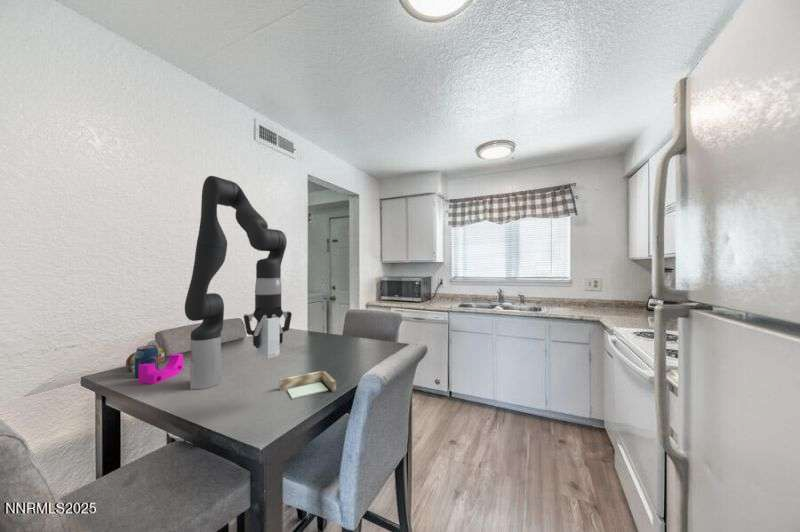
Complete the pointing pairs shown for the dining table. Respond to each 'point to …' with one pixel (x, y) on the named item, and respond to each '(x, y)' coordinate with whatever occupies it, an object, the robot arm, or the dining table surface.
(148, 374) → the magenta notched block
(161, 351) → the tin
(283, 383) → the wooden angle bracket
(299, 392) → the mat
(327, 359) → the dining table surface
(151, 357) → the soda can
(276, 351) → the skincare box
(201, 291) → the robot arm
